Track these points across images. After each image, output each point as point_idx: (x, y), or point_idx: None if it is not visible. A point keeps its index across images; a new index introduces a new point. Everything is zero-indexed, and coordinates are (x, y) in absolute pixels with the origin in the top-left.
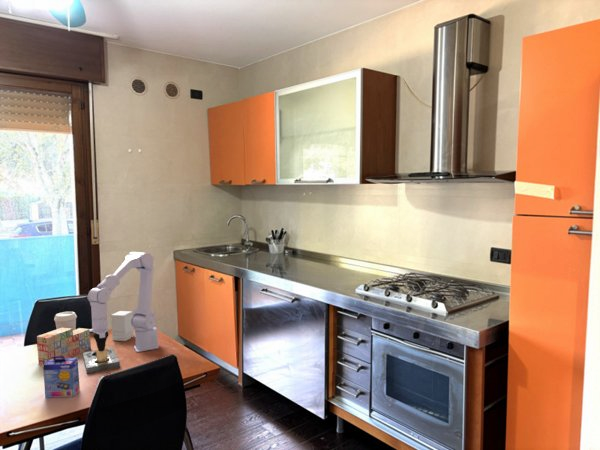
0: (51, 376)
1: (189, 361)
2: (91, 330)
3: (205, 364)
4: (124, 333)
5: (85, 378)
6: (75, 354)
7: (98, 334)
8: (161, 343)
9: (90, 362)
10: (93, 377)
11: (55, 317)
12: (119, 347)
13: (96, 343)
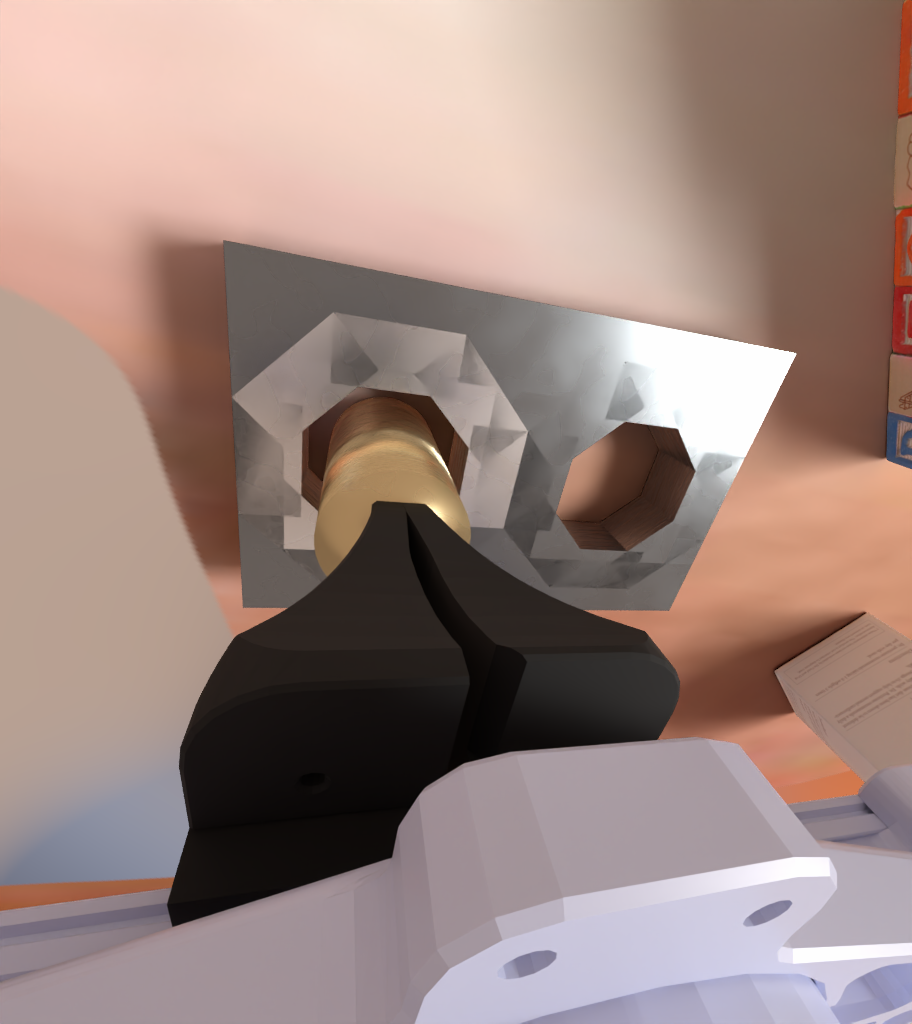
0: None
1: None
2: (401, 996)
3: None
4: (827, 714)
5: (83, 176)
6: (900, 306)
7: (346, 813)
8: None
9: (419, 346)
10: (75, 282)
11: None
12: (705, 627)
13: (467, 547)
